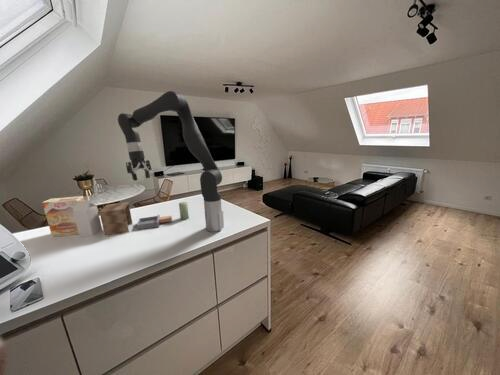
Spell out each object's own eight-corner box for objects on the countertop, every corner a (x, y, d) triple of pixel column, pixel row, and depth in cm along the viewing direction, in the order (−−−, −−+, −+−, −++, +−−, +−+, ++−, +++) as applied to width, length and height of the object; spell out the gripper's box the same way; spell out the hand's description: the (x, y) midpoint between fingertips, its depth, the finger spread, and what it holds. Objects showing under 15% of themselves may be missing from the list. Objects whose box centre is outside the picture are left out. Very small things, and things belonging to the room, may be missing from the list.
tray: (171, 217, 127) (171, 212, 127) (172, 224, 117) (171, 220, 116) (140, 222, 121) (139, 217, 120) (137, 230, 111) (136, 225, 110)
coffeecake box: (51, 237, 105) (40, 202, 100) (60, 231, 112) (50, 198, 106) (85, 233, 109) (76, 199, 104) (91, 227, 115) (83, 195, 110)
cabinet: (132, 223, 120) (128, 202, 116) (128, 232, 109) (124, 209, 105) (111, 226, 116) (106, 204, 113) (104, 236, 105) (99, 212, 102)
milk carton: (92, 237, 104) (84, 202, 99) (79, 237, 105) (70, 203, 100) (102, 230, 111) (95, 198, 106) (90, 230, 111) (82, 198, 106)
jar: (190, 216, 128) (188, 202, 125) (186, 220, 123) (184, 205, 121) (183, 216, 129) (181, 201, 126) (179, 219, 124) (177, 204, 122)
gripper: (129, 150, 104) (136, 180, 107) (150, 149, 118) (156, 176, 120) (119, 152, 107) (126, 181, 110) (141, 151, 120) (147, 177, 123)
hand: (142, 179), depth 115 cm, fingers open, 8 cm apart
